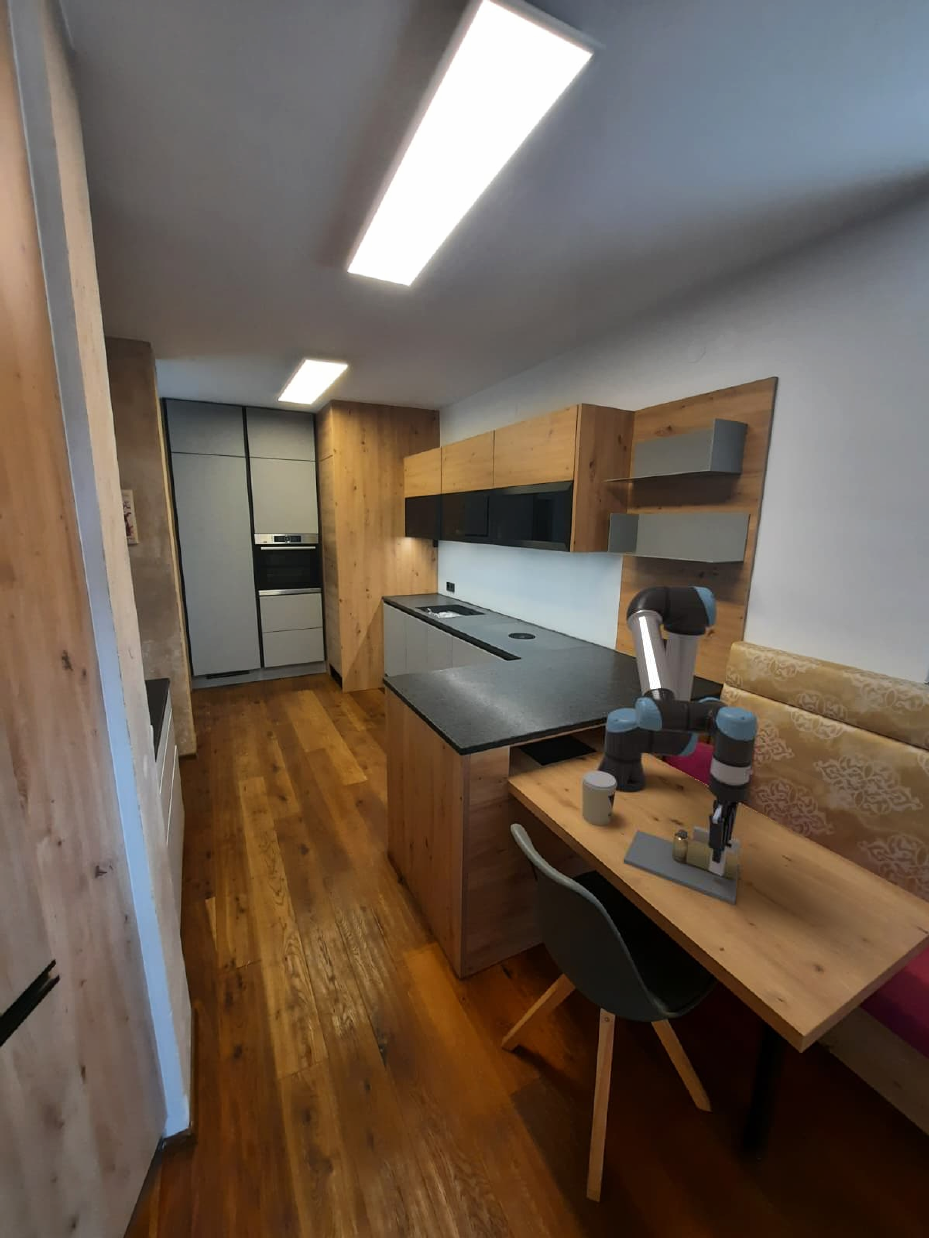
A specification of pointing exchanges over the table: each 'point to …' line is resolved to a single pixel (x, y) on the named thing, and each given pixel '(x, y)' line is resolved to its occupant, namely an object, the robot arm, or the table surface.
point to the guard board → (681, 864)
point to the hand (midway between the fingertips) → (716, 871)
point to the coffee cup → (598, 797)
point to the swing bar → (701, 855)
